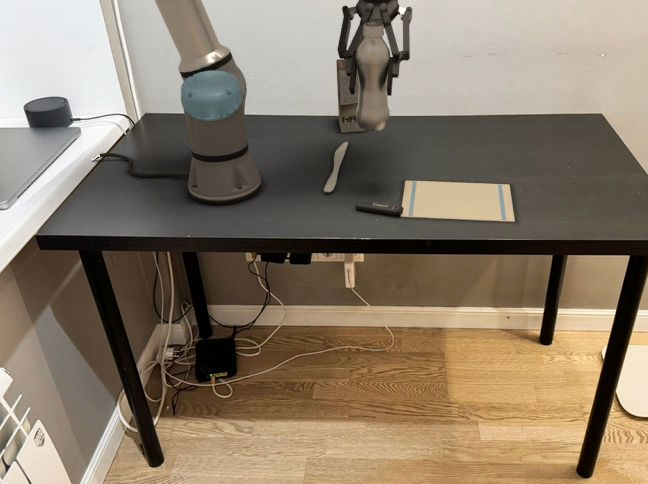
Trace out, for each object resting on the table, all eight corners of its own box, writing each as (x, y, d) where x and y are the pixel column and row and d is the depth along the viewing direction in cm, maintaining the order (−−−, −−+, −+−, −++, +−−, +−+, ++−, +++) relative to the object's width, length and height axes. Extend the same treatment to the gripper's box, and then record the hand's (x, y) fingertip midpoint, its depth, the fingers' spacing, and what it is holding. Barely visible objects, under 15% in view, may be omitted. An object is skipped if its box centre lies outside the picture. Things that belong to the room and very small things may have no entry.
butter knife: (318, 190, 135) (332, 190, 135) (339, 141, 158) (351, 141, 157) (319, 193, 136) (333, 193, 135) (339, 144, 158) (351, 143, 158)
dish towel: (400, 217, 127) (400, 216, 127) (405, 181, 140) (405, 180, 140) (514, 222, 124) (514, 221, 124) (509, 185, 137) (509, 184, 137)
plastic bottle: (386, 136, 126) (388, 29, 115) (352, 133, 127) (351, 27, 116) (392, 124, 131) (394, 21, 120) (359, 121, 133) (359, 19, 121)
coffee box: (366, 131, 164) (365, 68, 155) (340, 133, 163) (338, 69, 154) (362, 118, 171) (360, 57, 162) (337, 120, 171) (335, 58, 162)
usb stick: (354, 210, 129) (354, 203, 128) (359, 204, 131) (359, 197, 130) (399, 217, 126) (399, 210, 125) (404, 211, 128) (404, 204, 127)
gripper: (328, -32, 123) (316, 80, 119) (429, -31, 121) (421, 83, 117) (333, -7, 131) (322, 99, 126) (429, -6, 128) (422, 102, 124)
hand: (370, 91), depth 122 cm, fingers closed on plastic bottle, 6 cm apart
